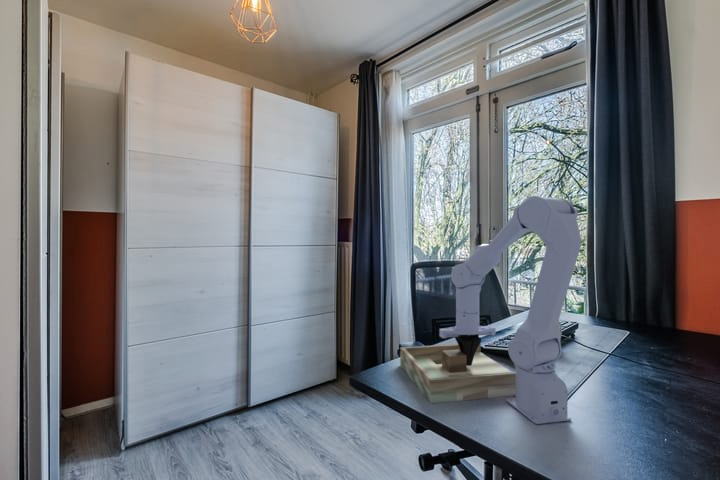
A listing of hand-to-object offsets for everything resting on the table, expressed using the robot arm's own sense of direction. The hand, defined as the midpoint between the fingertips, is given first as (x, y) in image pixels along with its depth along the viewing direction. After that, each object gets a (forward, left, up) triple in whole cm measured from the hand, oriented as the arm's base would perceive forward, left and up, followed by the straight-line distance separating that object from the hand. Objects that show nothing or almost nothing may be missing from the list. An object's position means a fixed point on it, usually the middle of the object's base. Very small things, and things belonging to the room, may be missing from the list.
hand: (467, 364), depth 85 cm
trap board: (0, +3, -3) cm, 4 cm away
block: (0, +4, -1) cm, 4 cm away
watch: (+15, -36, -4) cm, 39 cm away
